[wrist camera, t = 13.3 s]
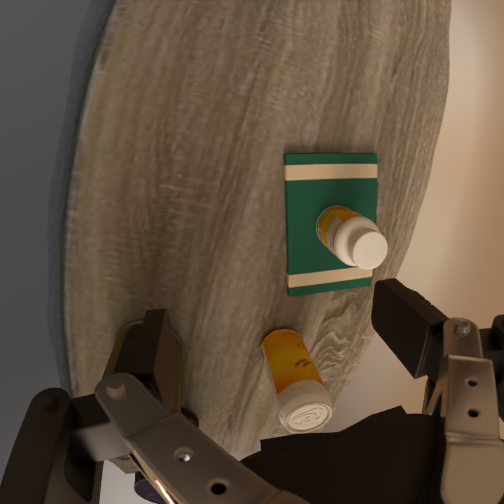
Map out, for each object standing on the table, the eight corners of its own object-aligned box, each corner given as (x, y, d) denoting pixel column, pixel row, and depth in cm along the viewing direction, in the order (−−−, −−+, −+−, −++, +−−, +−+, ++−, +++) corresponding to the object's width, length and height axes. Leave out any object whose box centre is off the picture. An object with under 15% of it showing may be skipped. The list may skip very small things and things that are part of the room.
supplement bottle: (361, 215, 39) (402, 238, 30) (341, 252, 40) (376, 283, 31) (327, 197, 37) (363, 215, 28) (307, 236, 39) (336, 265, 29)
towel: (283, 153, 36) (285, 154, 35) (373, 153, 37) (377, 153, 36) (287, 293, 42) (288, 297, 41) (368, 282, 43) (371, 285, 42)
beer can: (303, 353, 46) (336, 425, 32) (264, 364, 45) (285, 441, 31) (297, 320, 44) (333, 393, 30) (255, 332, 43) (276, 410, 29)
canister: (164, 309, 40) (143, 426, 22) (197, 366, 44) (199, 482, 25) (99, 332, 40) (53, 440, 21) (135, 384, 44) (115, 492, 25)
